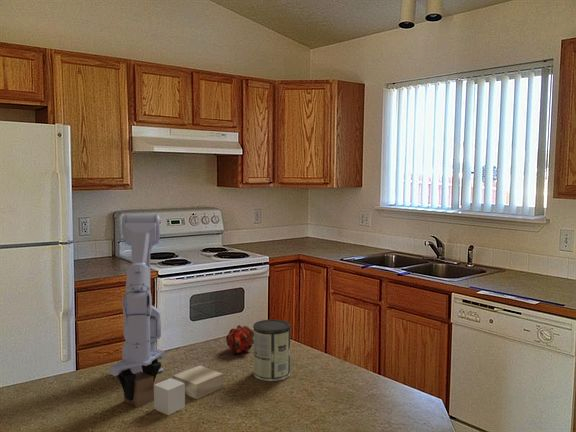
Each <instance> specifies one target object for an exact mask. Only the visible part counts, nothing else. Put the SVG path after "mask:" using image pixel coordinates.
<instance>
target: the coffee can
mask: <svg viewBox="0 0 576 432" xmlns="http://www.w3.org/2000/svg"><path fill="white" fill-rule="evenodd" d="M252 327H253V332H254V337H253V340H254V344H253V376H254V378H256V379H258V380H260V381H264V382H265V381H266V382H278V381H283V380H286V379H288V378H289V377H290V376H291V328H292V327H291V323H290V322H288V321H286V320H281V319H262V320H259V321H256V322H254V323H253V325H252Z"/></svg>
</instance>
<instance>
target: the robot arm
mask: <svg viewBox="0 0 576 432" xmlns="http://www.w3.org/2000/svg"><path fill="white" fill-rule="evenodd" d="M160 217H161V216H160V215H159V214H158V213H156V214H126V213H125V214H123V216H122V217H121V234H122V238H123V241H124V242H125V245H128V246H129V247H130V246H131V247H130V248H131V249H130V250H131V265H130V266H129V267H127V269H126V279H125V280H126V282H125V294H123V295H122V313H123V338H124V340H125V341H124V342H123V345H122V350H121V353H122V355H121V357H122V359H121V360H120V361H118V362H117V363H115V364H113V365H112V364H111V365H110V366H109V375H112V376H113V377H117V379H118V381H119V383H120V385H121V386H122V387H121V388H122V389H123V395H124V394H125V398H126V399H128V400H130V401H131V400H133V396H134V381H135V377H136V374H135V373H138V372H140V371H141V372H144V373H146V374H149V375H152V376H154V382H155V380H156V377H157V375H158V373H160V372H163V371H164V368H163V367H162V363H161V362H160V361H159V360H164V359H166V358H165V357H166V356H165V355H166V354H165V350H162V349H158V350H157V340H159V339H160V338H161V337H162V318H161V312H160V310H159V309H158V308H157V307H155V305H152V303H153V301H152V300H153V299H152V293H151V292H152V291H151V251H152V249H153V246H155V245H158V244H159V241H160V238H161V237H160V235H161V234H160V233H161V220H160V219H161V218H160Z"/></svg>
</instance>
